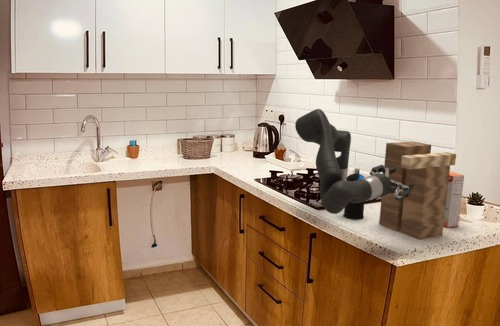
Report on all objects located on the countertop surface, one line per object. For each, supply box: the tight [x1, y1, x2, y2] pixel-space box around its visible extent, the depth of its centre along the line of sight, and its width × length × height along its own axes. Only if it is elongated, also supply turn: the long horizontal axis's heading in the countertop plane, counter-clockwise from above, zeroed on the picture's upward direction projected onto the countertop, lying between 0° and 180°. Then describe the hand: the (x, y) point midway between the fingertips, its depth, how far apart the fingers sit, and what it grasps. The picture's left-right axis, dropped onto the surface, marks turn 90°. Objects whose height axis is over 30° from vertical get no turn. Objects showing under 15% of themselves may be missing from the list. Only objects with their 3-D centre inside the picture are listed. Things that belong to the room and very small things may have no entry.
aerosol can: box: [343, 167, 365, 220], centre depth 192 cm, size 8×8×20 cm
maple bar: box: [401, 151, 457, 169], centre depth 168 cm, size 23×4×4 cm, turn 119°
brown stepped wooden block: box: [378, 141, 451, 240], centre depth 177 cm, size 14×19×32 cm
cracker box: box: [443, 170, 465, 228], centre depth 188 cm, size 14×6×21 cm, turn 21°
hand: (403, 178), depth 163 cm, fingers open, 8 cm apart
